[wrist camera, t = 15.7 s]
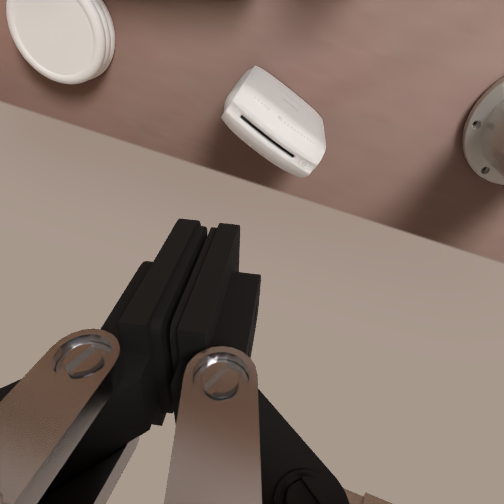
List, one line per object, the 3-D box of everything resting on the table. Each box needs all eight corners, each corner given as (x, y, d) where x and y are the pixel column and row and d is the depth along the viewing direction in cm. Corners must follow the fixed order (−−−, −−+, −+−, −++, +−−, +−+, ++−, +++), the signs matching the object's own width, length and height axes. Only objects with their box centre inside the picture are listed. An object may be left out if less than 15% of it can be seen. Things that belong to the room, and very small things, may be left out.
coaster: (117, -16, 37) (100, -17, 34) (117, 88, 43) (104, 95, 40) (18, -42, 37) (-6, -44, 34) (32, 67, 43) (12, 72, 40)
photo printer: (329, 118, 42) (334, 158, 32) (304, 148, 44) (302, 194, 34) (254, 57, 39) (234, 80, 29) (232, 92, 41) (206, 124, 31)
